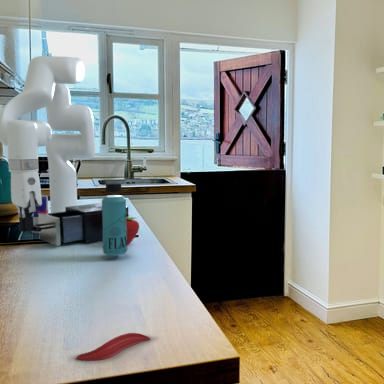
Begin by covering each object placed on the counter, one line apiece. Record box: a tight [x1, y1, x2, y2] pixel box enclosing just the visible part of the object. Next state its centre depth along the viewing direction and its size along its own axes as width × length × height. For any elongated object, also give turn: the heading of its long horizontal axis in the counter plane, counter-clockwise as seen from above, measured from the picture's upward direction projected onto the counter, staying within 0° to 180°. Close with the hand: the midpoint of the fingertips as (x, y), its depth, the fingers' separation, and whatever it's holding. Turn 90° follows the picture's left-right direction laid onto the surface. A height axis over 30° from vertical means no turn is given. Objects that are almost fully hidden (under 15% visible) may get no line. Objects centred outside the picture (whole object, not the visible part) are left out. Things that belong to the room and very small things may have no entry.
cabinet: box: [65, 202, 129, 245], centre depth 151 cm, size 15×13×10 cm
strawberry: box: [126, 211, 140, 246], centre depth 141 cm, size 6×8×10 cm
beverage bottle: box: [101, 182, 128, 256], centre depth 126 cm, size 6×7×20 cm
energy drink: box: [30, 194, 49, 235], centre depth 156 cm, size 5×5×12 cm
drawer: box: [33, 211, 85, 246], centre depth 142 cm, size 18×11×8 cm, turn 136°
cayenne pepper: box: [75, 332, 151, 361], centre depth 75 cm, size 12×5×2 cm, turn 120°
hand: (26, 230), depth 135 cm, fingers closed
